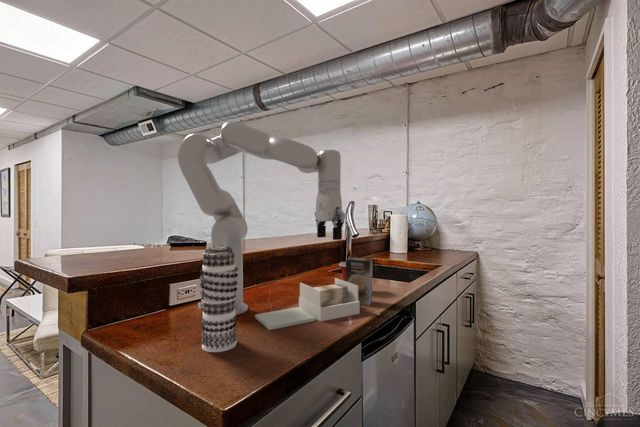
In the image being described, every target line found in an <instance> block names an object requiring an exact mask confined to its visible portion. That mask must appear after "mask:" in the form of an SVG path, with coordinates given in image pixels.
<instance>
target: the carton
mask: <svg viewBox="0 0 640 427" xmlns="http://www.w3.org/2000/svg"><path fill="white" fill-rule="evenodd" d="M334 284H341V285H344V286H347V287H348V299H347V303H344V304H339V305H333V306H328V307H322V308H321V291H319V290H317V289H314V288H313V286H310V285H308V284H305V283H303V282H300V283H299V297H298V308H300V309H302V310H303V311H305V312H307V313H309V314H310V315H312V316H314V317H315V320H317V321H318V322H325V321H330V320H335V319H340V318H344V317H348V316H349V317H350V316H355V315H360V311H361V308H360V306H361V305H360V301H358V286H357V285H354V284H351V283H349V282H346V281H344V280H343V279H339V278H337V277H334Z"/></svg>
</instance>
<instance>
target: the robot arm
mask: <svg viewBox="0 0 640 427" xmlns="http://www.w3.org/2000/svg"><path fill="white" fill-rule="evenodd" d="M219 131H220V132H219V136H216V137H213V138H210V137H209V136H207V135H206V134H203V133H199V132H194V133H191V134H188V135H186V137H184V139H183V140H182V141H181V142H180V145H179V147H178V150H177V151H178V152H177V162H178V166H179V170H180V171H181V173H182V175H183V177H184V179H185V181H186V183H187V184H188V186H189V188H190V191H191V192H192V195H193V197H194V199H195V200H196V202H197V204H198V207H199V208H200V210H201V212H202V213H203V214H205V215H206V216H209V217H213V219H214V221H215V222H214V224H213V225H212V227H211V232H210V237H211V238H210V240H211V246H216V245H226V246H230V247H231V248H232V250H233V251H235V253H234V263H235V267H237V268H238V270H237V271H236V272H235V271H234V273H236V274H238V276H237V277H236V278H234V281H236V282H237V285H235V286H234V287H236V288H237V291H235V292H234V294H235V295H236V299H235V315H236V316H238V315H241V314H244V313H246V312H247V311H248V308H249V307H248V305H247V303H244V292H243V291H244V276H243V275H244V272H243V271H244V270H243V269H244V268H243V267H244V262H243V259H244V258H243V257H244V256H243V244H242V240H244V239H245V237H246V236H247V234H248V228H249V227H248V223H247V221H246V219H245V217H244V215H243V213H242V211H241V210H240V208H239V206H238V205H237V202H236V201H235V199H234V198H233V195H232V194H231V193H229V192H228V191H227V190H225V189H222V188H221V187H220V186H219V183H218V182H217V180H216V177H215V176H214V174H213V172H212V170H211V169H210V168H209V166H208V164H209V165H210V164H216V163H218V162H221V161H223V160H227V159H228V158H231V157H233V156H236V155H238V154H240V153H242V152H244V153H246V154H249V155H251V156H254V157H257V158H260V159H264V160H275V161H278V162H282V163H284V164H287V165H290V166H293V167H295V168H296V169H297V170H299V171H300V172H301V173H303V174H312V173H317V178H318V180H317V194H316V199H315V200H316V201H315V213H314V217H315V223H316V236H317V237H316V238H326V237H327V229H326V228H327V227H326V223H327V222H331V223H332V225H333V227H332V240H333V241H337V240H338V241H339V240H342V238H343V237H342V236H343V226H344V223H345V220H346V215H347V214H346V213H345V211H343V203H342V194H341V166H342V165H341V161H342V160H341V153H340V151H338V150H336V149H324V150H323V149H322V150H321V151H319V152H316V150H315V149H314V148H312V147H311V146H308V145H307V144H304V143H301V142H299V141H295V140H292V139H290V138H286V137H282V136H278V135H275V134H271V133H268V132H266V131H263V130H260V129H258V128H254V127H252V126H250V125H247V124H244V123H241V122H237V121H227V122H225V123H224V124H222V126H221V128H220V130H219ZM203 305H204V302H202V301H200V302H198V309H204V307H203Z"/></svg>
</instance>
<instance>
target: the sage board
mask: <svg viewBox="0 0 640 427" xmlns="http://www.w3.org/2000/svg"><path fill="white" fill-rule="evenodd" d="M254 318H255V319H256V320H257V321H258V322H259V323H261V324H262V325H263V326H264V327H265V328H266V329H267V330H269V331H271V330H277V329H282V328H286V327H291V326H297V325H301V324H307V323H310V322H311V323H312V322H315V321H316V318H315V317H314V316H312V315H310V314H309V313H307V312H305V311H303V310H302V309H300V308H299V306H298V307H297V306H296V307H291V308H285V309H280V310H279V309H278V310H274V311H267V312H261V313H256V314H254Z"/></svg>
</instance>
